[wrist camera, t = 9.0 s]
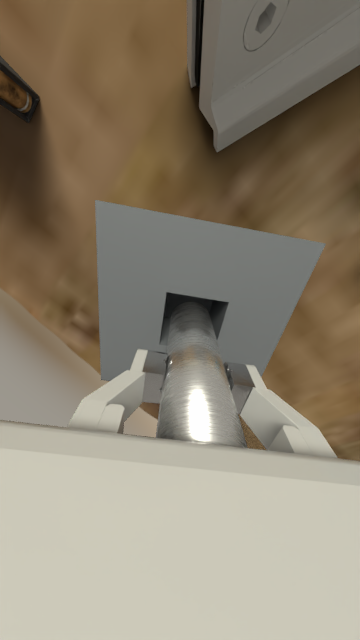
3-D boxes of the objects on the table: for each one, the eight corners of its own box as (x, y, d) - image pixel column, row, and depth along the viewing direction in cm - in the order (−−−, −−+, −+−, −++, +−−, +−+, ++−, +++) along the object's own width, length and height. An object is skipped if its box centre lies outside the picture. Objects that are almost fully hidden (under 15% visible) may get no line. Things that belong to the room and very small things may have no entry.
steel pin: (214, 305, 14) (270, 453, 5) (204, 338, 15) (235, 502, 6) (174, 298, 14) (157, 441, 5) (168, 333, 15) (146, 493, 6)
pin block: (280, 237, 17) (325, 243, 12) (234, 359, 23) (250, 399, 18) (124, 208, 16) (95, 199, 11) (120, 342, 22) (101, 379, 17)
